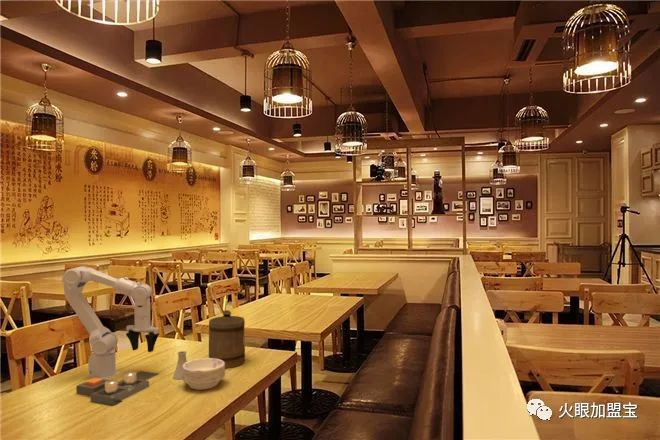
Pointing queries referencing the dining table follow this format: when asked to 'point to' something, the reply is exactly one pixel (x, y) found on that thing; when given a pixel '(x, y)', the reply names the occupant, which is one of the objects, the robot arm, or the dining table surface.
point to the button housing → (89, 388)
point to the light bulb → (111, 387)
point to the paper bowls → (203, 372)
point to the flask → (180, 365)
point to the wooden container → (227, 339)
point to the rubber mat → (145, 375)
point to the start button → (94, 382)
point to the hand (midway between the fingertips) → (143, 350)
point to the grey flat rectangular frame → (122, 393)
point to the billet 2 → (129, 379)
